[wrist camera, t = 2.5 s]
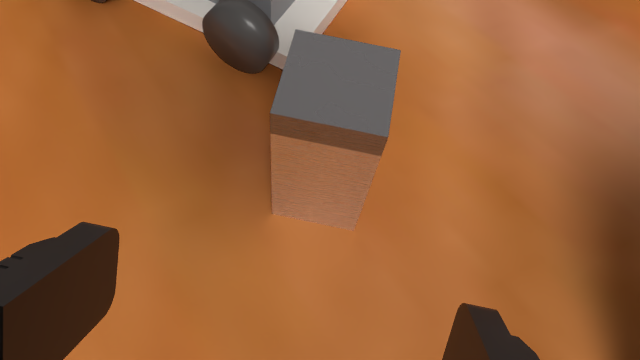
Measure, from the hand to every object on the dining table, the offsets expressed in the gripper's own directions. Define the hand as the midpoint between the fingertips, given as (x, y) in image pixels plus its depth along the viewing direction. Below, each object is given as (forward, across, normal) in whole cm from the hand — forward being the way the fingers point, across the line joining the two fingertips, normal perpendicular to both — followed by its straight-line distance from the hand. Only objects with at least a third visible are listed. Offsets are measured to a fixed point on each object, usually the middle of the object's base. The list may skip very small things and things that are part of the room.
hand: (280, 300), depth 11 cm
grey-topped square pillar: (+19, 0, +3) cm, 19 cm away
